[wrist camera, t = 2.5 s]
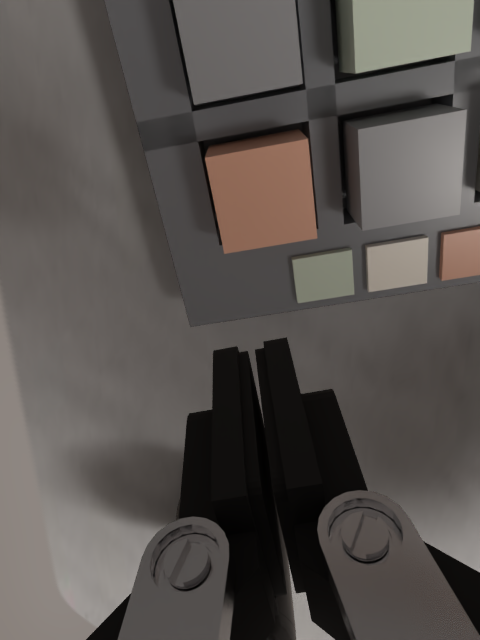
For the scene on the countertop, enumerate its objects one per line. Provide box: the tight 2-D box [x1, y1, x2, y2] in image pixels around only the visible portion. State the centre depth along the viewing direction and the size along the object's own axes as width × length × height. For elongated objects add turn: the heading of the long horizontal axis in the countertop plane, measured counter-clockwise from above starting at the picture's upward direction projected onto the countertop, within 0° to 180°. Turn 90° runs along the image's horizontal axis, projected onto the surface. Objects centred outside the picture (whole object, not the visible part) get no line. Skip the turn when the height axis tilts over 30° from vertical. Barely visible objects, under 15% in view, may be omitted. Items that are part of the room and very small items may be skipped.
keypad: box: [104, 0, 480, 327], centre depth 16 cm, size 18×14×4 cm
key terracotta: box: [205, 129, 317, 254], centre depth 17 cm, size 3×3×2 cm
